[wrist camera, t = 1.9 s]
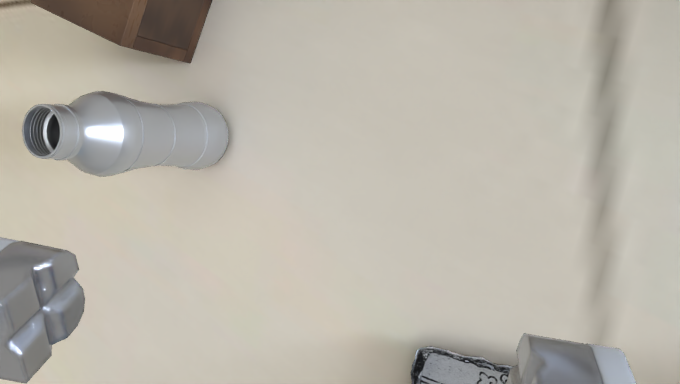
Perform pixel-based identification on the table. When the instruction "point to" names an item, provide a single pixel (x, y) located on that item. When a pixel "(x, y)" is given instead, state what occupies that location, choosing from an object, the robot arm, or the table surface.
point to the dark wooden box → (139, 22)
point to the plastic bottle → (125, 134)
